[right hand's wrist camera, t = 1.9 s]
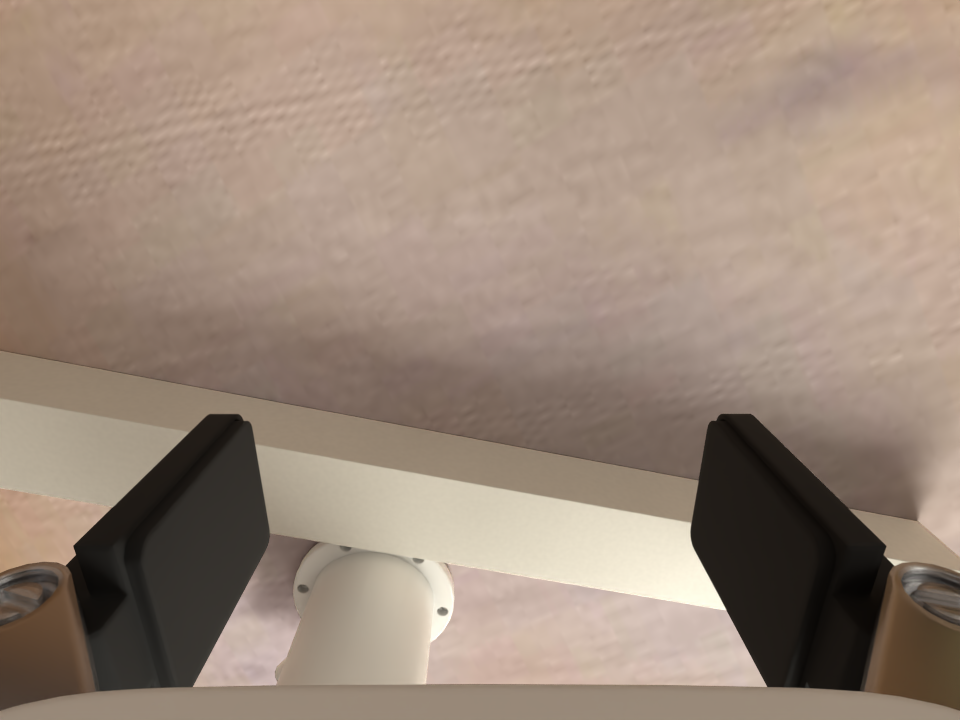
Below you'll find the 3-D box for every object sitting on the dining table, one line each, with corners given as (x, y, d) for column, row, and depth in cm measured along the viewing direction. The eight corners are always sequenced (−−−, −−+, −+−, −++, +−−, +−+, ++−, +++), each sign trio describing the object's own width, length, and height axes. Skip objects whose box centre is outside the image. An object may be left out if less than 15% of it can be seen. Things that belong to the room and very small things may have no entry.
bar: (-106, 413, 38) (-197, 455, 33) (-125, 326, 36) (-225, 357, 31) (877, 586, 44) (929, 645, 38) (918, 521, 41) (979, 574, 36)
